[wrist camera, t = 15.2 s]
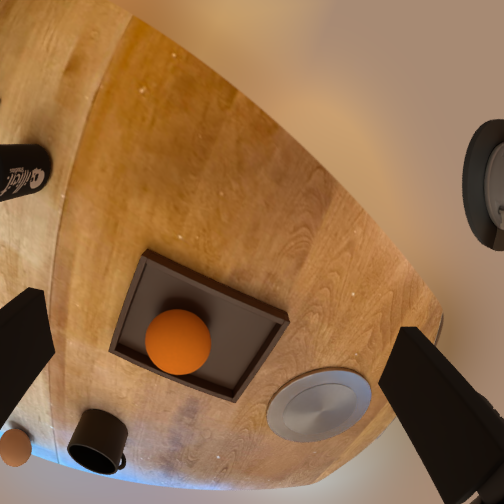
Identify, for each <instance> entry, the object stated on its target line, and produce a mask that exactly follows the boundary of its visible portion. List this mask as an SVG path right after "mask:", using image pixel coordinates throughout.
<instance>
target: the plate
mask: <svg viewBox="0 0 504 504" xmlns="http://www.w3.org/2000/svg"><path fill="white" fill-rule="evenodd" d="M370 401H371V389H370V386H369V384H368V382H367V381H366V379H365V378H364V377H363V376H362V375H361V374H359V373H358V372H355V371H353V370H350V369H346V368H336V367H333V368H323V369H318V370H314V371H310V372H307V373H305V374H302V375H300V376H298V377H296V378H294V379H292V380H291V381H289V382H288V383H286V384H285V385H283V386H282V387H281V388H280V389H279V390H278V391H277V392H276V393H275V394H274V396H273V397H272V398H271V400H270V402H269V404H268V407H267V412H266V414H267V422H268V425H269V427H270V428H271V430H272V431H273V432H274V433H275V434H276V435H278V436H280V437H281V438H284V439H286V440H289V441H294V442H315V441H321V440H325V439H328V438H331V437H334V436H336V435H338V434H340V433H342V432H344V431H346V430H347V429H349V428H350V427H352V426H353V425H354V424H355V423H356V422H358V421H359V420H360V418H361V417H362V416H363V415H364V413H365V412H366V410H367V409H368V407H369V404H370Z"/></svg>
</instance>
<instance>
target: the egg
mask: <svg viewBox="0 0 504 504" xmlns="http://www.w3.org/2000/svg"><path fill="white" fill-rule="evenodd" d="M31 451H32V446H31V442H30V439H29V437H28V436H27V435H26V434H25V433H24V432H23V431H22V430H19V429H10V430H7V431H6V432H5V433H4V434H3V435H2V437H1V439H0V455H1V457H2V459H3V461H4V462H5V463H6V464H7V465H9V466H13V467H18V466H20V465H22V464H24V463H26V462H27V460H28V459H29V457H30V455H31Z"/></svg>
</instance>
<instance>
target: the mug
mask: <svg viewBox="0 0 504 504" xmlns="http://www.w3.org/2000/svg"><path fill="white" fill-rule="evenodd" d="M127 436H128V433H127V429H126V427H125V426H124V425H123V423H122V422H121V421H119V420H118V419H117V418H115V417H114V416H112V415H110V414H108V413H106V412H103V411H100V410H88V411H86V412H84V413H83V414H82V417H81V419H80V421H79V423H78V425H77V427H76V429H75V431H74V433H73V436H72V438H71V440H70V442H69V444H68V447H67V451H68V453H69V455H70V456H71V457H72V458H73V459H74V460H75V461H76V462H77V463H78V464H80V465H81V466H83V467H85V468H86V469H88V470H91V471H93V472H96V473H99V474H105V475H111V474H114V473H116V472H117V470H122V469H123V468H124V467H125V466H126V458H125V455H124V454H123V450H124V446H125V443H126V440H127ZM121 459H122V463H121V465H120V466H119V463H120V460H121Z"/></svg>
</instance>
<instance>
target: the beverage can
mask: <svg viewBox="0 0 504 504" xmlns="http://www.w3.org/2000/svg"><path fill="white" fill-rule="evenodd" d="M49 174H50V159H49V156H48V154H47V152H46V150H45V149H44V148H43V147H42V146H40V145H37V144H0V202H2V201H5V200H9V199H13V198H16V197H20V196H24V195H28V194H32V193H36V192H38V191H40V190H41V189H42V188H43V187H44V186H45V184H46V182H47V180H48V178H49Z"/></svg>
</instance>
